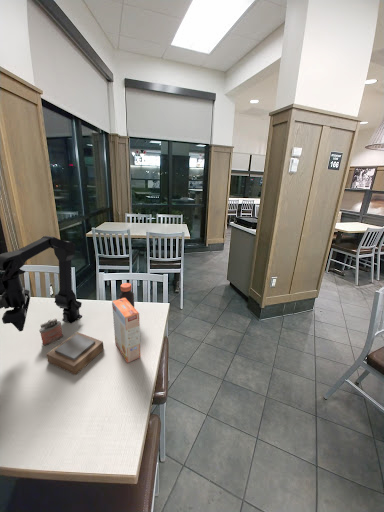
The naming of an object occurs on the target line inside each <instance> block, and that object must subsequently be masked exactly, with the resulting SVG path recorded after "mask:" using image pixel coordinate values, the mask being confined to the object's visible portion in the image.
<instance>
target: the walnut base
mask: <svg viewBox="0 0 384 512" xmlns="http://www.w3.org/2000/svg"><path fill="white" fill-rule="evenodd" d="M104 350H105V349H104V342H103V341H102V340H100V339H98V338H94V337H92V336H89V335H86V334H83V333H81V332H78V331H76V332H75V333H73V334H72V335H70V337H68V338H66V339H65V340H64V341H63V342H61V343H60V344H59V345H57V346H56V347H54V348H52V349H51V350H50V351H48V352H47V353H46V359H47V362H48V364H51V365H53V366H54V367H55V366H56V367H57V368H59V369H62V370H64V371H66V372H68V373H70V374H72V375H74V376H76V375H77V374H78V373H79V372H81V371H82V370H83V369H84V368H86V366H87V365H88V364H89V363H90V362H92V361H93V360H94V359H95V358H96V357H97V356H98V355H99V354H100V353H102V351H104Z"/></svg>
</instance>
